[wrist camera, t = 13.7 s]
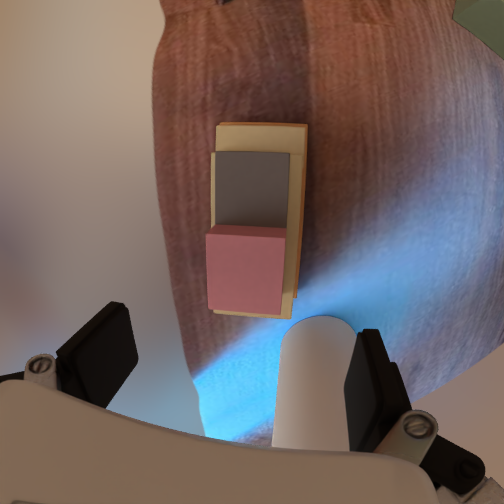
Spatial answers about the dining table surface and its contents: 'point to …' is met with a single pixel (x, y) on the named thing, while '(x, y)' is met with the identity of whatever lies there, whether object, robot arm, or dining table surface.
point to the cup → (313, 385)
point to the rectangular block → (483, 21)
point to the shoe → (295, 143)
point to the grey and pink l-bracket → (248, 232)
